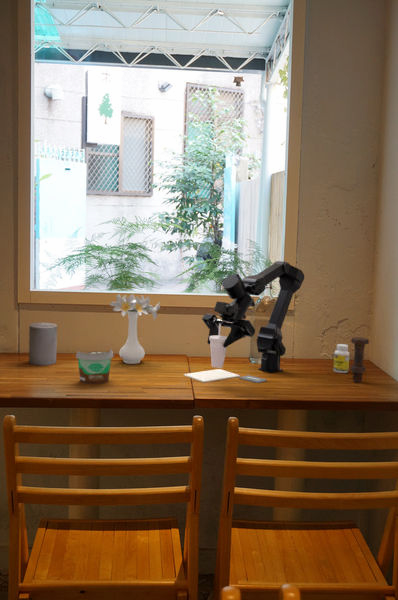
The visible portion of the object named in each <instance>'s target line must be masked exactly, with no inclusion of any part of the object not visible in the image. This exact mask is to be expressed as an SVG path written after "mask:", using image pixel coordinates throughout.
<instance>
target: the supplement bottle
mask: <svg viewBox="0 0 398 600" xmlns="http://www.w3.org/2000/svg"><path fill="white" fill-rule="evenodd" d="M348 350H349V345H348V344H346V343H345V344H344V343H338V344H336V350H335V351H334V352H333V353H334V354H333V366H332V370H333V372H335V373H340V374H346V373H348V372H349V366H350V352H349V351H348Z"/></svg>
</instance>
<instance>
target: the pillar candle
mask: <svg viewBox="0 0 398 600" xmlns="http://www.w3.org/2000/svg"><path fill="white" fill-rule="evenodd" d="M28 326H29V327H28V328H29V329H28V331H29V332H28V334H29V335H28V336H29V338H28V339H29V341H28V347H29V348H28V364H31V365H34V366H50V365H54V364H56V363H57V341H58V340H57V336H58V335H57V334H58V333H57V332H58V331H57V330H58V329H57V328H58V325H57V324H56V323H52V322H50V323H49V322H34V323H30V324H29V325H28Z"/></svg>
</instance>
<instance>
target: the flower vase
mask: <svg viewBox="0 0 398 600" xmlns="http://www.w3.org/2000/svg"><path fill="white" fill-rule="evenodd" d="M115 300H116V301H112V302H110V303H109V306H111V307H113V309H112V312H120V311H121V316H122V317H126V315H127V317H128V333H127V337H126V338H127V339H126V342H125V343H124V345H122V347H121V348H120V350H119V353H118V354H119V356H120V358H121V359H122V360H123V363H125V364H129V365H130V364H131V365H136V364H140V363H141V360H142V359H143V358H144V357H145V355H146V353H145V350H144V348H143V346H142V345H141V344H140V342H139V339H138V318H139V316H140V317H141V316H142V314H144V315H149V313H150V314H152V318H153V320H155V319H158V313H157V312H158V311H159V310H160V309H161V305H160V304H161V301H159V302H158V303H157V304H156V305H155V306H153V305H152V304H150V302H151V299H150V297H149V296H147V297H146V298H145V297H144V295H142V294H141V298H140V297H139V296H135V294H133V293H132V294H131V295H129V296H127V294H125V295H123V296H122V297H121V294H119V293H118V294H117V295H116V299H115Z"/></svg>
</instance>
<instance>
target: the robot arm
mask: <svg viewBox="0 0 398 600" xmlns="http://www.w3.org/2000/svg"><path fill="white" fill-rule="evenodd" d="M278 278H279V279H278ZM276 279H278V283H279V284H278V285H279V287H280V289H279V292H278V296H277V298H276V300H275V304H274V305H273V308H272V311H271V314H270V317H269V320H268V323H267V325H266V326H261V327H260V329H259V331H258V333H257V335H256V337H257V338H256V346H257V353H259V354H260V353H261V359H260V367H258V370H260V371H263V372H266V373H270V374H271V373H277V372H283V371H284V370H283V368H281V357H282V356H284V355H285V354H286V346H285V344H284V343H283V334H282V333H283V332H282V327H283V324H284V321H285V318H286V315H287V313H288V309H289V307H290V305H291V301H292V298H293V295H294V294H295V293H296V292H298V290H299V289H300V288H301V287H302V284H303V282H304V280H305V274H304V273H303V270H302V269H299V268H298V267H296V266H294V265H291V264H290V263H289V262H287V261H281V260H280V261H279V260H277V261H274V262H273V264H271V265H270V266H269V267H267V268H265V269H263V270H261V272H259V273H257V274H254V275H253V274H252V275H248V276H245V277H243V278H242V279H241V276H240V274H239V273H232V275H229V276H228V277H226V278H225V279H223V281H222V283H221V285H222V288H223V289H224V291H225V292H226V295H228V297H229V298H230V299H231V300H232V301H230V303H229V302H224V301H216V303H215V306H214V309H213V311H214V312H216V313H219V315H218V316H219V318H221V319H219V318H218V317H217V315H216V314H213V313H212V314H211V313H204V315H203V316H202V318H201V320H202V321H203V323H204V324H205V325H206V327H207V328H208V331H209V332H208V338H207V344H208V345H210V340H209V337H210V336H212V335H219V324H221V327H223V328H227V329H230V332H229V333H228V336H226V337H227V339H226V340H225V342H224V344H223V347H224V348H226V347H227V348H228V347H229V346H230V345H232V344H234V343H236V342H237V341H239V340H241V339H242V338H243V339H245V338H246V337H250V338H253V337H254V336H255V333H256V328H255V327H254V325H253V324H252V322H251V321H250V320H249V319H246V318H247V316H246V313H247V312H248V309H249V308H250V307H253V308H254V307H255V306H256V302H255V299H254V298H253V297H252V296H256V297H259V296H260V295H262V293H263V292H264V291H265V290H266V287H267V285H269V284H270V283H271V282H273V281H274V280H276ZM220 334H222V333H221V331H220ZM227 348H226V349H227Z"/></svg>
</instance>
